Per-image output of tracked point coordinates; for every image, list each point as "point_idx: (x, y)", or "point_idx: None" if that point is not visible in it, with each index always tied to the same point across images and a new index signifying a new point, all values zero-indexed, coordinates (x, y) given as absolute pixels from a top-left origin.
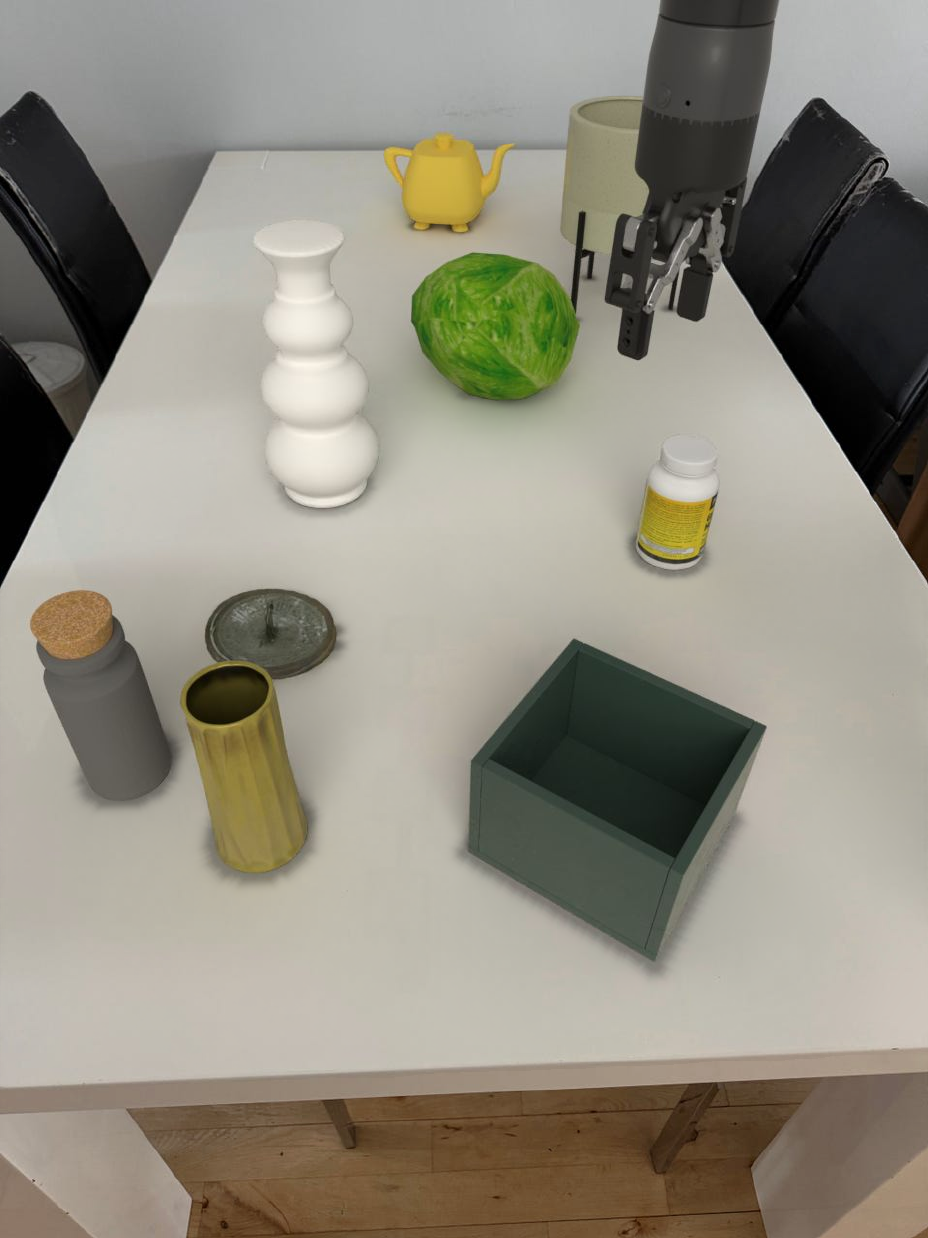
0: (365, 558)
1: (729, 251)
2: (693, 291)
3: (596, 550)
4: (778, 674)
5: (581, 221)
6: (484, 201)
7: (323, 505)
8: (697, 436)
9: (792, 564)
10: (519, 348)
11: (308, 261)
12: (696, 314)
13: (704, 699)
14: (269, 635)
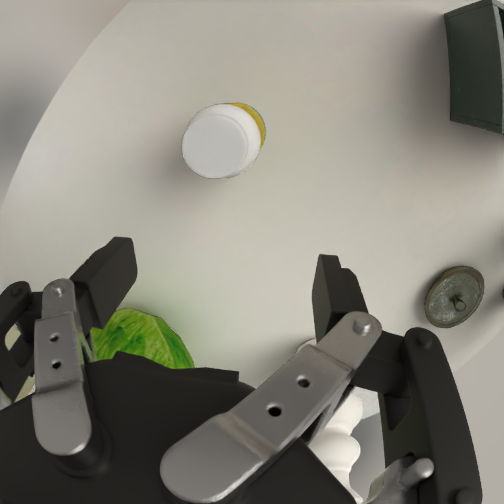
0: (371, 301)
1: (20, 289)
2: (111, 283)
3: (273, 179)
4: (318, 7)
5: (33, 372)
6: None
7: None
8: (184, 153)
9: (185, 47)
10: (158, 351)
11: (352, 493)
12: (127, 248)
13: (499, 35)
14: (458, 297)
